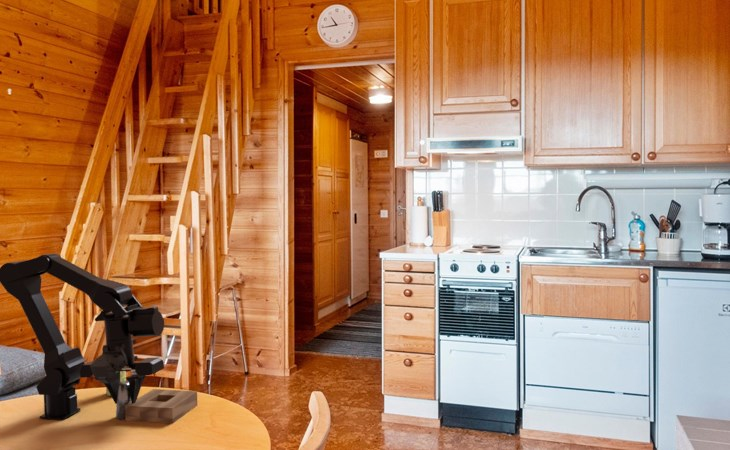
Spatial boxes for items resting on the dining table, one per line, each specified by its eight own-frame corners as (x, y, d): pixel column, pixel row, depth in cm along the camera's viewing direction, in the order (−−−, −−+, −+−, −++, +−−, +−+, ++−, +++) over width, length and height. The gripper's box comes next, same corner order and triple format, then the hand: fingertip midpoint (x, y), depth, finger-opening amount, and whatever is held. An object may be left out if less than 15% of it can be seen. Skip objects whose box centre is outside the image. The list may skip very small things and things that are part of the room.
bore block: (125, 420, 134) (125, 405, 134) (153, 402, 146) (153, 389, 146) (172, 423, 132) (172, 408, 132) (197, 405, 143) (197, 391, 143)
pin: (113, 417, 135) (114, 384, 135) (121, 413, 138) (122, 380, 138) (125, 419, 134) (126, 386, 134) (133, 414, 138) (134, 382, 137)
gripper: (60, 348, 129) (67, 416, 130) (135, 344, 126) (141, 414, 126) (92, 336, 140) (98, 399, 141) (162, 333, 137) (168, 397, 137)
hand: (125, 403), depth 136 cm, fingers open, 4 cm apart
